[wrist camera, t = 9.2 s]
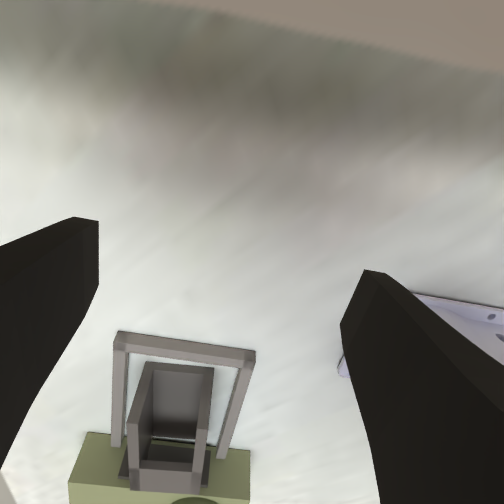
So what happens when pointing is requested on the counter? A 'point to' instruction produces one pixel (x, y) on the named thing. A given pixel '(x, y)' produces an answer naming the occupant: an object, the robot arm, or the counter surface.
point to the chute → (169, 425)
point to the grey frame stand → (116, 449)
